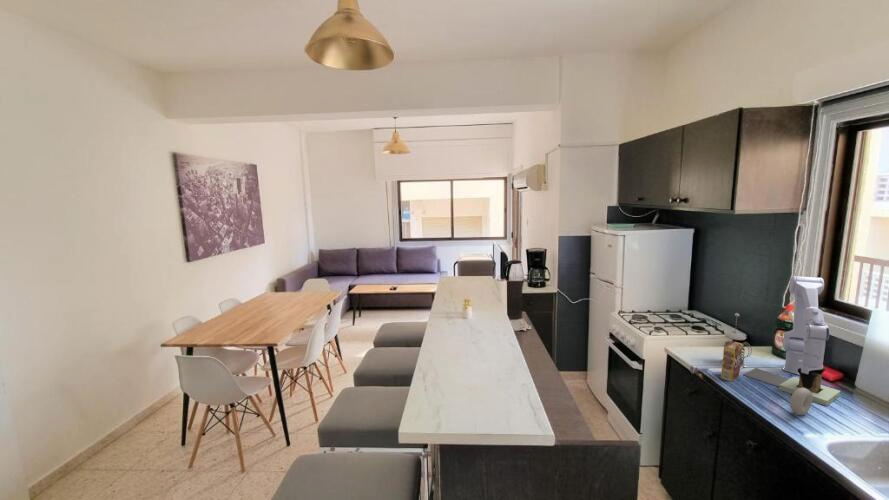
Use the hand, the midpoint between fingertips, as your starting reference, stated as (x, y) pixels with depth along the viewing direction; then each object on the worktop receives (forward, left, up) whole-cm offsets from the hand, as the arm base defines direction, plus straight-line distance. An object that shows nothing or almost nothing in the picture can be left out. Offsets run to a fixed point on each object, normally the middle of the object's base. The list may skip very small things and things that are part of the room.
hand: (809, 385), depth 144 cm
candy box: (+12, -22, -3) cm, 25 cm away
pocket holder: (0, 0, -3) cm, 3 cm away
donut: (+22, +4, -3) cm, 23 cm away
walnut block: (0, 0, -3) cm, 3 cm away
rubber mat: (-1, -14, -3) cm, 14 cm away
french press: (-4, -27, -3) cm, 27 cm away
